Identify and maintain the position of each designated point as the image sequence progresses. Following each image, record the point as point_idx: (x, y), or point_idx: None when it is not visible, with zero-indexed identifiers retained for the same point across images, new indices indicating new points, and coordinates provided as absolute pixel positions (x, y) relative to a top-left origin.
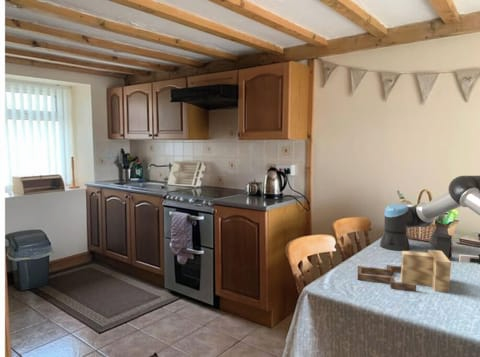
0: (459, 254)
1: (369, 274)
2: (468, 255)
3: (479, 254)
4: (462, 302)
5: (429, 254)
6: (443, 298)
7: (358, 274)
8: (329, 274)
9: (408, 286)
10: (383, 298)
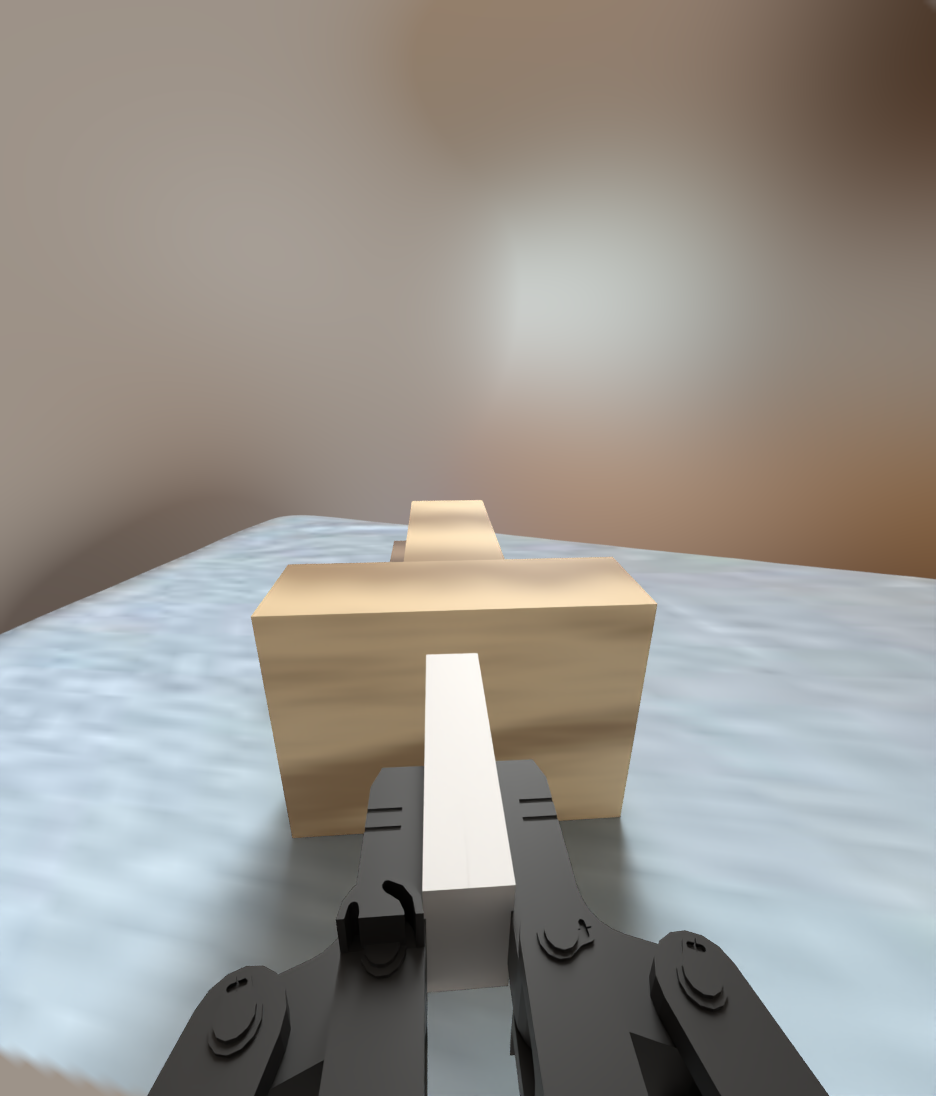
0: (475, 653)
1: (401, 556)
2: (469, 729)
3: (703, 957)
4: (71, 908)
5: (462, 553)
6: (182, 788)
7: (394, 542)
8: None
9: None
10: (215, 602)
